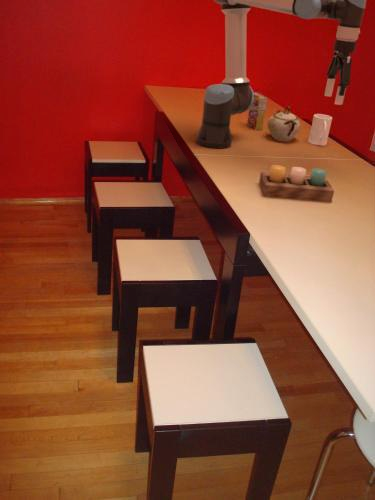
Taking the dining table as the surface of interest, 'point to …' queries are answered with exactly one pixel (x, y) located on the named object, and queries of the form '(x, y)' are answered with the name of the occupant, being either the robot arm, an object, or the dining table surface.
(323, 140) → the mug
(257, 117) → the candy box
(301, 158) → the dining table surface
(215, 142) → the robot arm
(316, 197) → the wooden compartment tray
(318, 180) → the teal egg
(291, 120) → the sugar bowl
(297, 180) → the pink round piece
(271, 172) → the orange rounded ball
